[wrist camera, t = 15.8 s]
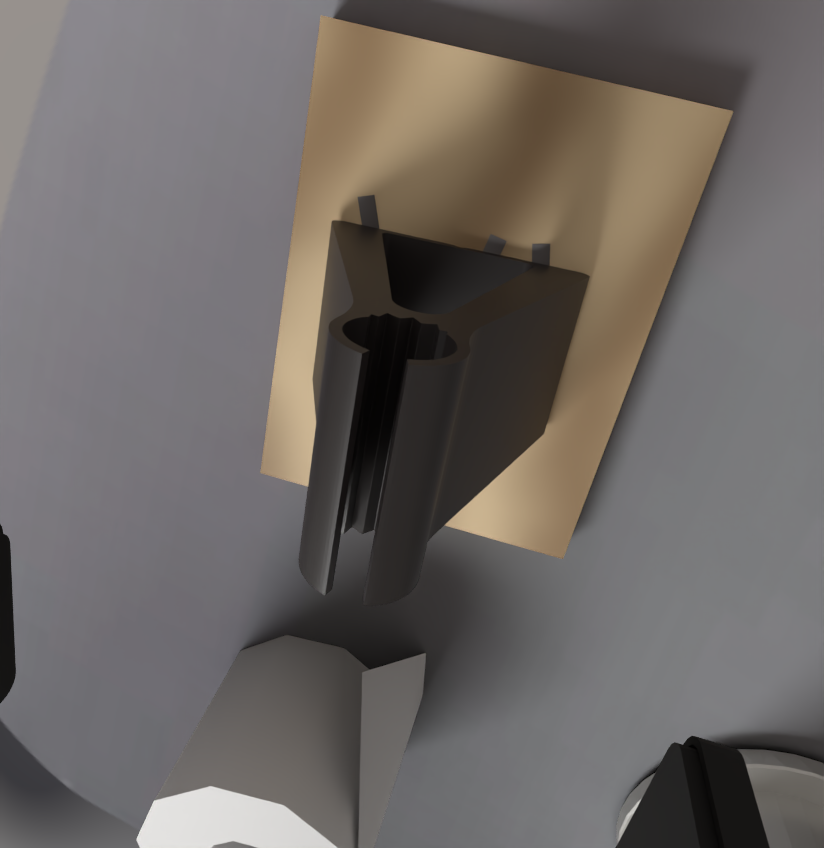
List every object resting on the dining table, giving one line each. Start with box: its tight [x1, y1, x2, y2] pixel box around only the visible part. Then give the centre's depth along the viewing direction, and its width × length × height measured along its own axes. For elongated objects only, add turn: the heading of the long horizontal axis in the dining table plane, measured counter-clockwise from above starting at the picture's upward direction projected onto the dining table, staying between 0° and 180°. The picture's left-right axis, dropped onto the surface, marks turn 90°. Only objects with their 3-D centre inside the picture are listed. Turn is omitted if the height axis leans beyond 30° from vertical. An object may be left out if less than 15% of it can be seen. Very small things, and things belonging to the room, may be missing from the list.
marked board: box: [260, 16, 733, 559], centre depth 26 cm, size 13×17×1 cm
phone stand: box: [299, 220, 590, 606], centre depth 20 cm, size 9×6×12 cm, turn 80°
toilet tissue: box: [136, 635, 426, 848], centre depth 32 cm, size 9×13×9 cm
